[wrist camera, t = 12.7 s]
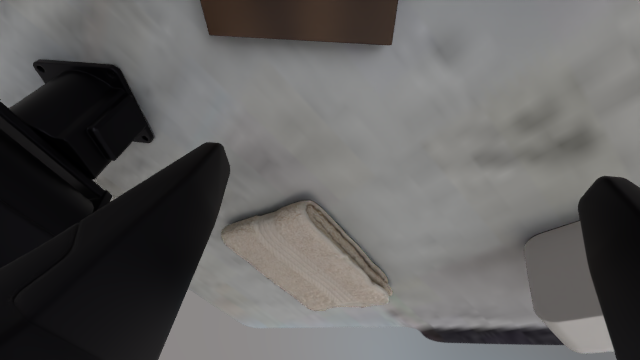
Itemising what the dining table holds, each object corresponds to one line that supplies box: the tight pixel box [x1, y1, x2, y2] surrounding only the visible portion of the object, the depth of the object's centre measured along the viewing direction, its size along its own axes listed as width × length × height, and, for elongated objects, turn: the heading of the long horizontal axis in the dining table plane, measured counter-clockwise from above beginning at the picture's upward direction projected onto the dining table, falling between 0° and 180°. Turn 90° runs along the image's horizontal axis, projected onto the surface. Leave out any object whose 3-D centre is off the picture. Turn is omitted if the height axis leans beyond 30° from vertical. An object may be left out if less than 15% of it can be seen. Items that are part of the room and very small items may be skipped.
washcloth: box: [221, 201, 393, 311], centre depth 34 cm, size 12×18×3 cm, turn 35°
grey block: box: [524, 221, 614, 354], centre depth 23 cm, size 8×10×10 cm
